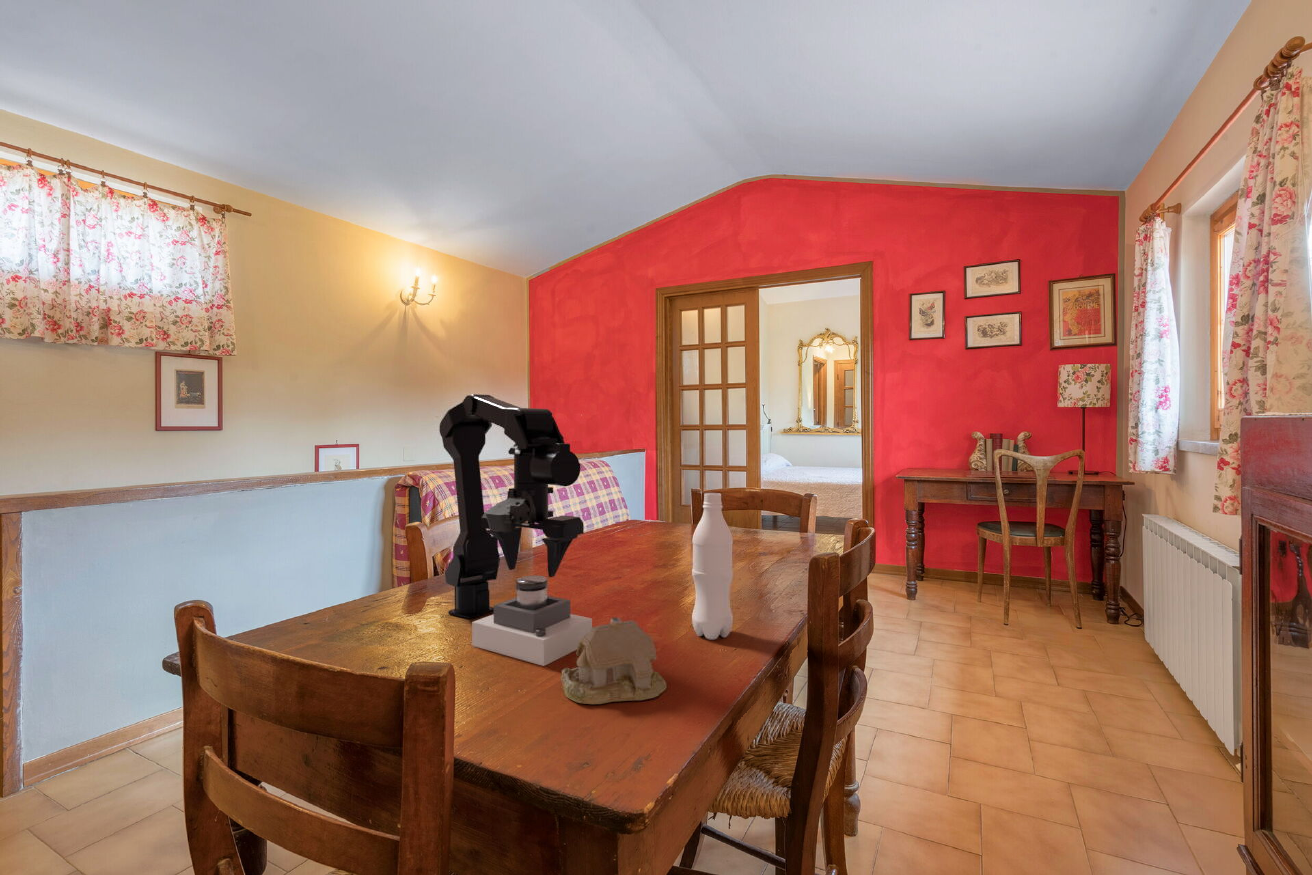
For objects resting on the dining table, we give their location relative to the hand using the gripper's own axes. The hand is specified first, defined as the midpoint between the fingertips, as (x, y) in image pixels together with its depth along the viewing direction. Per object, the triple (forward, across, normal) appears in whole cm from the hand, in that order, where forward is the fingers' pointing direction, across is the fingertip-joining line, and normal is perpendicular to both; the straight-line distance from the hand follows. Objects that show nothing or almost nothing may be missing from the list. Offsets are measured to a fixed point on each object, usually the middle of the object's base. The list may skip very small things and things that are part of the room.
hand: (531, 573), depth 100 cm
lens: (+8, +1, -1) cm, 8 cm away
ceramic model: (+12, +22, -7) cm, 26 cm away
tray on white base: (+12, +1, -1) cm, 12 cm away
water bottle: (+12, +25, +20) cm, 34 cm away
